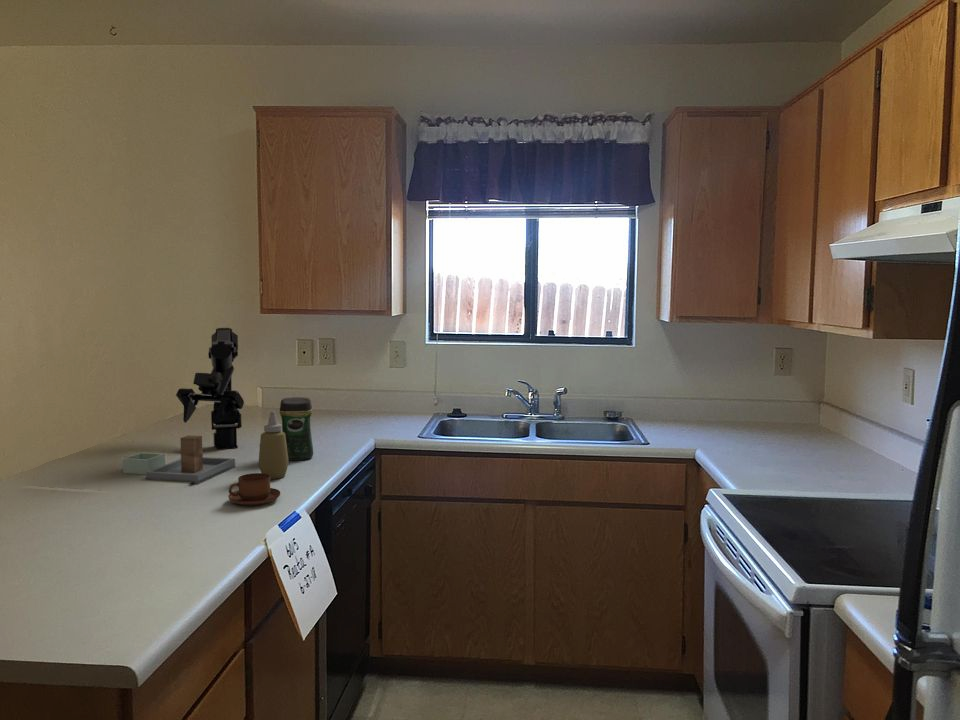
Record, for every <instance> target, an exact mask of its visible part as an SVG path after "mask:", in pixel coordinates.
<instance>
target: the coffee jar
mask: <svg viewBox="0 0 960 720" xmlns="http://www.w3.org/2000/svg"><path fill="white" fill-rule="evenodd" d="M312 414H313V407H312V401H311V398H310V397H304V396H301V397H300V396H298V397H297V396H294V397H285V398H282V399H281V400H280V405H279V415H280V418H281V425H282V432H284V433H285V436H286V444H287V452H288V461H301V460H303V461H304V460H308V459H312V458H313V456H314V445H313V440H312V429H311V416H312Z"/></svg>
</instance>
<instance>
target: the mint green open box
mask: <svg viewBox="0 0 960 720" xmlns="http://www.w3.org/2000/svg"><path fill="white" fill-rule="evenodd" d="M163 465H166V456H165V453H156V452H138V453H136V454H132V455H128V456H127V457H124V458H122V470H123V471H122V473H123V474H124V473H125V474H135V475H137V474H139V475H140V474H141V475H142V474H143V475H146V472H148V471H150V470H153V469H155V468H158V467H161V466H163Z"/></svg>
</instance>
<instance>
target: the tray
mask: <svg viewBox="0 0 960 720" xmlns="http://www.w3.org/2000/svg"><path fill="white" fill-rule="evenodd" d="M234 468H236V458H230V457H229V458H227V457H211V456H210V457H207V456H203V470H201V471H198V472H196V473H186V472H181V458H178V459H176V460H174V461H171V462H169V463H165V465H163V466H161V467H158V468H155V469H153V470H150V471H148V472H146V474H145V479H146V480H158V481H172V482H174V481H175V482H190V483H189V484H190V485H200V484H201V483H204V482H206V481H208V480H210V479H212V478H214V477H217V476H219V475H221V474H223V473H226V472H227V471H229V470H232V469H234Z"/></svg>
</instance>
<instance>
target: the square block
mask: <svg viewBox="0 0 960 720" xmlns="http://www.w3.org/2000/svg"><path fill="white" fill-rule="evenodd" d="M203 457H204V456H203V436H202V435H190V434H188V435H186V436H183V437H180V459H181V472H186V473H196V472H198V471H201V470H203Z"/></svg>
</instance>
